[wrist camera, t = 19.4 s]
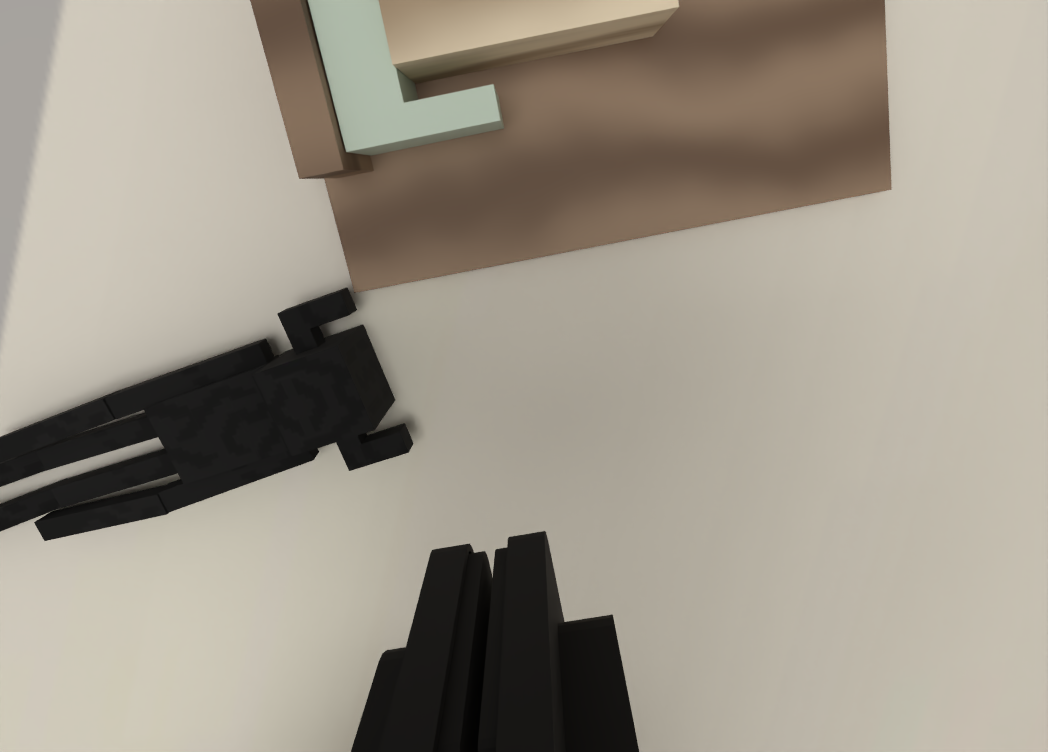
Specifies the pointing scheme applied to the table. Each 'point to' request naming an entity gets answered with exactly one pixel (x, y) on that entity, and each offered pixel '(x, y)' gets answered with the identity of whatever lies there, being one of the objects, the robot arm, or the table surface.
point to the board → (604, 137)
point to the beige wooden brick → (508, 31)
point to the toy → (211, 426)
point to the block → (388, 87)
